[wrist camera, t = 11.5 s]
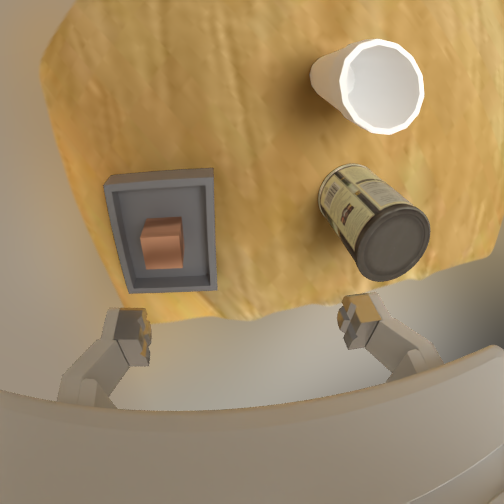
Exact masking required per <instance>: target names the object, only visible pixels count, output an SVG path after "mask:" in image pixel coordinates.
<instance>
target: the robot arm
mask: <svg viewBox="0 0 504 504" xmlns="http://www.w3.org/2000/svg"><path fill="white" fill-rule="evenodd" d="M342 304H343V306H342V307H341V308H340V309H339V311H338V315H337V321H338V326H339V329H340V330H341V331H342V332H344V333H345V335H344V341H345V343H346V345H347V348H348V350H351V349H357V348H364V347H365V349H366V350H368V351H369V352H370V353H371V354H372V355H373V356H374V357H375V358H376V359H378V360H379V361H380V362H381V363H382V364H383V365H384V366H385V367H386V368H387V369H388V370H390V371H391V372H392V374H391V376H390V377H389V378H388V380H387V381H386V383H383V384H379V385H375V386H372V387H368V388H364V389H360V390H355V391H351V392H346V393H341V394H337V395H332V396H326V397H321V398H316V399H310V400H304V401H297V402H291V403H284V404H276V405H268V406H259V407H249V408H238V409H224V410H203V411H145V410H144V411H143V410H125V409H117V408H116V406H115V405H114V404H113V403H112V401H111V400H110V399H109V396H110V394H111V393H112V391H113V390H114V389H115V387H116V386H117V384H118V383H119V382H120V380H121V379H122V377H123V376H124V375H125V373H126V372H127V370H128V369H129V368H130V367H129V366H149V361H150V351H149V348H148V346H149V345H150V344H151V339H152V335H151V325H150V322H149V321H148V320H147V312H146V309H145V308H109V309H108V311H107V315H106V318H105V322H104V327H103V331H102V335H101V339H100V340H96V341H95V342H94V343H93V344H92V345H91V346H90V347H89V348H88V349H87V350H86V351H85V352H84V353H83V354H82V355H81V356H80V357H79V358H78V360H76V362H75V363H74V364H73V365H72V366H71V367H70V368H69V369H68V370H67V371H66V372H65V373H64V374H63V375H62V379H61V383H60V388H59V392H58V397H57V402H56V401H50V400H44V399H39V398H34V397H29V396H25V395H20V394H16V393H12V392H7V391H3V390H0V504H504V350H503V349H502V348H500V347H498V346H496V345H491V346H488V347H486V348H483V349H481V350H479V351H476V352H474V353H471V354H469V355H467V356H464V357H462V358H459V359H457V360H454V361H452V362H449V363H446V364H444V363H443V361H442V359H441V357H440V356H439V354H438V352H437V350H436V348H435V347H434V345H433V343H431V342H430V341H428V340H427V339H425V338H424V337H422V336H421V335H419V334H418V333H416V332H415V331H413V330H412V329H410V328H409V327H407V326H406V325H404V324H403V323H401V322H400V321H398V320H397V319H395V318H392V317H391V315H390V314H389V312H388V310H387V309H386V307H385V305H384V303H383V301H382V300H381V298H380V296H379V295H378V293H376V292H372V293H363V294H355V295H347V296H345V297H344V298H343V300H342Z"/></svg>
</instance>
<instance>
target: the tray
mask: <svg viewBox="0 0 504 504" xmlns="http://www.w3.org/2000/svg"><path fill="white" fill-rule="evenodd" d="M103 186H104V192H105V197H106V203H107V208H108V213H109V217H110V222H111V227H112V231H113V235H114V240H115V244H116V248H117V252H118V256H119V260H120V264H121V267H122V271H123V275H124V278H125V282H126V285H127V289H128V292H129V294H130V293H165V292H191V291H213V290H217V270H216V246H215V215H214V174H213V168H200V169H181V170H165V171H151V172H139V173H129V174H119V175H111V176H110V177H109V179H108V180H107V181H106V182H105V184H104V185H103ZM164 217H182V226H183V236H184V246H185V248H184V259H183V268H171V269H147V270H146V265H145V261H144V256H143V251H142V246H141V240H140V236H141V233H142V230H143V227H144V224H145V221H146V219H148V218H164Z"/></svg>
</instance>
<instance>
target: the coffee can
mask: <svg viewBox="0 0 504 504" xmlns="http://www.w3.org/2000/svg"><path fill="white" fill-rule="evenodd" d="M318 204H319V208H320V211H321V213H322V214H323V216H324V217H325V218H326V219H327V220H328V222H329V223H330V225H331V226H332V228H333V229H334V231H335V232H336V233H337V235H338V236H339V238H340V239H341V241H342V242H343V244H344V245H345V247H346V248H347V250H348V251H349V253H350V254H351V256H352V257H353V259H354V260H355V262H356V265H357V267H358V269H359V271H360V272H361V274H362V275H363V276H364V277H366V278H368V279H370V280H372V281H378V282H383V281H389V280H392V279H395V278H397V277H399V276H401V275H403V274H405V273H406V272H407V271H409V270H410V269H411V268H412V267H413V266H414V265H415V264H416V263H417V262H418V261H419V260H420V258H421V257H422V255H423V254H424V252H425V250H426V248H427V245H428V242H429V239H430V224H429V221H428V218H427V217H426V215H425V214H424V213H423V212H422V211H421V210H419V209H418V208H416V207H415V206H413V205H412V204H411V203H410V202H409V201H408V200H406V199H405V198H404V197H403V196H402V195H400V194H399V193H398V192H397V191H395V190H394V189H393V188H392V187H391V186H389V185H388V184H387V183H386V182H384V181H383V180H382V179H381V178H379V177H378V176H377V175H375V174H374V173H373V172H372V171H371V170H370V169H368V168H367V167H365V166H363V165H360V164H347V165H343V166H340V167H338V168H336V169H335V170H333V171H332V172H331V173H330V174H329V175H328V176H327V177H326V178H325V180H324V181H323V183H322V185H321V187H320V190H319V195H318Z"/></svg>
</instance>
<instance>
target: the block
mask: <svg viewBox="0 0 504 504" xmlns="http://www.w3.org/2000/svg"><path fill="white" fill-rule="evenodd" d="M140 240H141V246H142V251H143V256H144V261H145V265H146V270H147V269H171V268H183V259H184V248H185V246H184V236H183V226H182V217H164V218H148V219H146V221H145V224H144V227H143V230H142V233H141V236H140Z"/></svg>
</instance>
